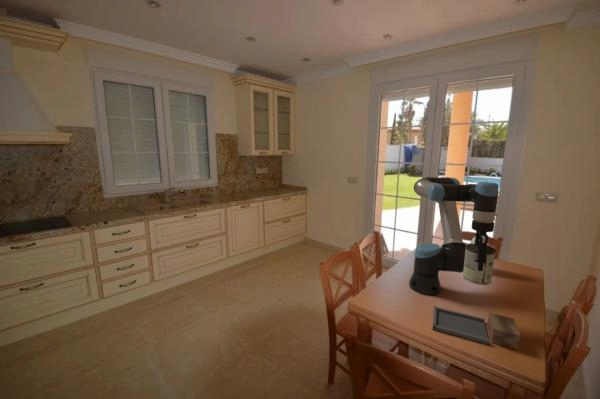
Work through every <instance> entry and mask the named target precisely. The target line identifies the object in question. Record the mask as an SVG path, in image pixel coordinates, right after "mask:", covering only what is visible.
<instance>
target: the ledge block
mask: <svg viewBox="0 0 600 399" xmlns="http://www.w3.org/2000/svg"><path fill="white" fill-rule="evenodd" d="M486 326H487V330H488V335H489V340H490V342H491V344H495V345H498V346H502V347H506V348H509V349H513V350H515V351H516V350H517V351H518V350H519V347H520V346H519V345H520V341H521V340H520V339H521V333H520V331H519V328H518V326H517V324H516V320H515V319H514V318H513V317H509V316H505V315H500V314H497V313H496V314H495V313H492V312H488V319H487V325H486Z"/></svg>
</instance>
